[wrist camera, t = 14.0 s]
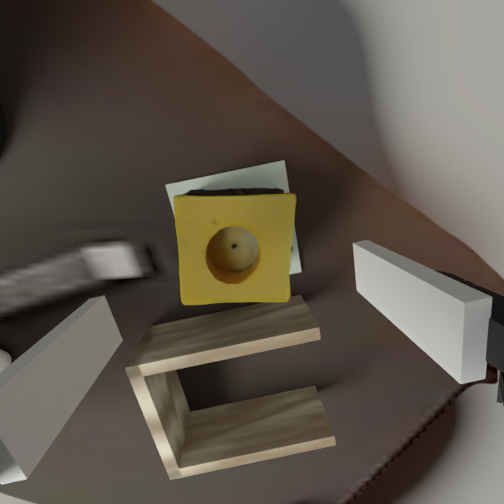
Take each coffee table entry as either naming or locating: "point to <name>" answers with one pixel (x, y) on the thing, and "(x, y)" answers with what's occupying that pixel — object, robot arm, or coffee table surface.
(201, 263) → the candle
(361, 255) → the robot arm
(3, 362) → the teddy bear
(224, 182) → the felt mat
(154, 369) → the wooden u-shaped frame
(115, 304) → the coffee table surface
